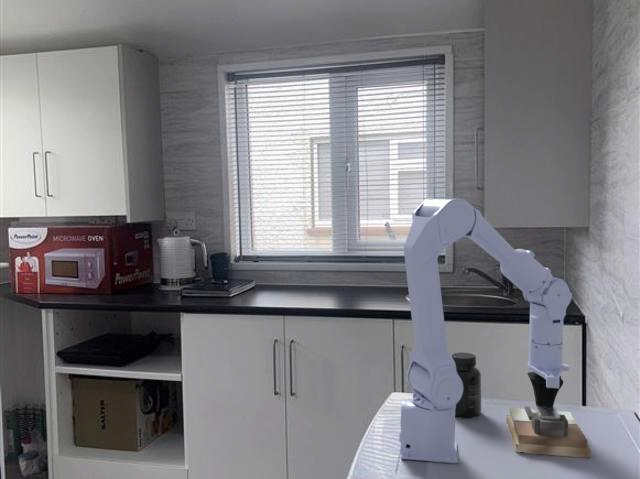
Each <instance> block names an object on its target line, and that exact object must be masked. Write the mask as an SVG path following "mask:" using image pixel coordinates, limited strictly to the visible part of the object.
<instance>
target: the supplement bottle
mask: <svg viewBox="0 0 640 479" xmlns="http://www.w3.org/2000/svg"><path fill="white" fill-rule="evenodd" d="M451 356H452V358H453V360H454V362H455V364H456V371H457V374H458V375H459V377H460V378H461V380H462V382H463V394H462V397H461V399H460V400H459V402H458V403H457V404H456V408H455V416H456V417H455V418H459V417H461V418H460V419H472V418H473V417H474V418H477V417H479V416H480V415H481V413H482V372H481V371H480V369H478V367H476V366H477V356H476V355H475V354H473V353H470V352H455V353H452V355H451ZM474 418H473V419H474Z"/></svg>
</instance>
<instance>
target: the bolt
mask: <svg viewBox="0 0 640 479" xmlns="http://www.w3.org/2000/svg"><path fill="white" fill-rule="evenodd" d="M536 410H537V415H538V417H539V419H540V420H551V421H560V416H559V414H558V412H557V411H558V410H557V409H556V407H555V406H553V407H551V406H537V407H536Z"/></svg>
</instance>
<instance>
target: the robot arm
mask: <svg viewBox="0 0 640 479" xmlns="http://www.w3.org/2000/svg"><path fill="white" fill-rule="evenodd" d="M411 215H412V217H411V218H412V224H411V226H410V228H409V232H408V233H407V238H406V240H405V243H404V245H403V254H404V263H405V264H404V265H405V272H406V280H407V290H408V297H409V307H410V316H411V324H412V331H413V332H412V334H413V340H414V349H413V350H412V351H411V352H410V353H409V354H408V356H409V365H408V369H407V372H406V380H407V383H408V385H409V387H410V388H411V389H412V399H402V400H401V404H400V406H401V407H400V430H399V437H398V438H399V443H400V459H402V460H413V461H425V462H436V463H447V464H458V462H459V458H458V457H459V456H458V445H457V444H458V443H457V441H456V417H455V408H456V404H457V403H458V402H459V400H460V399H461V397H462V394H463V382H462V380H461V378H460V377H459V375H458V374H457V371H456V364H455V362H454V360H453V358H452V355H451V352H450V351H449V349H448V345H447V334H446V326H445V316H444V309H443V299H442V290H441V280H440V279H441V278H440V272H439V271H440V269H439V260H438V258H439V256H440V255H441V254H442V253H443V252H444V251H445V249H446V248H447V247H448V246H450V245H452V244H453V243H455V242H457V241H459V240H460V239H462V238H463V237H465V238H468V239H469V240H471V241H473V243H475V245H477V246H478V247H480V248H481V249H482V250H483V251H484V252H486V253H487V254H489V255H490V256H492V258H494V259H495V261H497V262H499V263H500V264H499V266H500V269H499V270H500V272H501V274H502V275H503V276H504V277H505V278H506V279H508V280H509V281H510V282H511V283H512V284H514V286H516V288H518V289H519V290H520V291H521V292H522V296H523V299H524V300H525V301H526V302H528V303H529V337H528V362H527V368H528V370H530V371H529V372H527V376H528V378H529V380H530V383H531V385H532V390H533V393H534V399H535V400H534V401H535V407H536V408H537V406H551V407H554V404H555V401H556V397H557V395H558V393H559V391H560V389H562V386H563V384H564V380H563V379H562V374H563V372H568V371H570V366H569V364H567V363H563V355H564V354H563V352H564V351H563V348H564V346H563V345H564V344H563V343H564V319H565V317H566V316H567V311H566V310H567V308H568V306H569V305H570V303H571V301H572V298H573V293H572V292H571V289H570V288H569V285H568V284H567V282H566V281H565V280H564V279H562V278H559V277H556V276H555V277H553V275H552V270H551V269H550V268H549V267H544V266H543V265H542V264H541V263H540V262H539V261H538V260H537V259H535V258H534V257H535V255H536V254H535V253H534V252H533V251H532V250H528V249H523V248H517V249H514V248H513V247H512V246H511V245H510V243H509V242H507V240H506V239H505V238H504V237H503V236H502V235H501V234H500V233H499V232H498V231H497V230H496V229H495V228H494V227H493V226H492V225H491V224H490V223H489V222H488V221H487V220H486V218H484V217H483V215H482V212H481V211H480V210H478V209H477V208H475V207H473V206H472V205H471V203H469V201H467V200H465V199H464V198H459V197H458V198H447V199H446V198H443V199H442V198H435V197H433V198H432V197H431V198H427V199H425V200H424V201H423V202H421V203H420V204H419V205H418V207H417V208H416V209H414V211H413V212H412V213H411Z"/></svg>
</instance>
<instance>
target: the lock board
mask: <svg viewBox="0 0 640 479" xmlns="http://www.w3.org/2000/svg"><path fill="white" fill-rule="evenodd" d="M556 411H557V412H558V414H559V416H560V421H551V420H540V419H539V417H538V415H537V409H531V408H530V406H526V405H525V406H524V408H517V407H515V408H511V407H509V414H507V415H506V424H508V425H507V427H508V428H509V429H508V428H507V429H508V431H510V432H509V435H510V434H511V435H510V439H511V441H513V442H512V444H514V445H513V447H515V448H514V451H515V450H516V451H517V452H516V451H515V452H516V453H520V452H524V454H533V455H534V454H536V455H537V454H538V455H547V456H557V457H558V456H559V457H560V456H561V457H573V458H584V459H585V458H587V459H591V448H590V446H589V444H588V438H587V437H586V436H585V434H584V433H583V431H582V430H581V428H580V426H579V425H578V422H577V421H576V419H575V417H573V414H572V413H571V412H570V411H562V410H561V411H558V410H556Z"/></svg>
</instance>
